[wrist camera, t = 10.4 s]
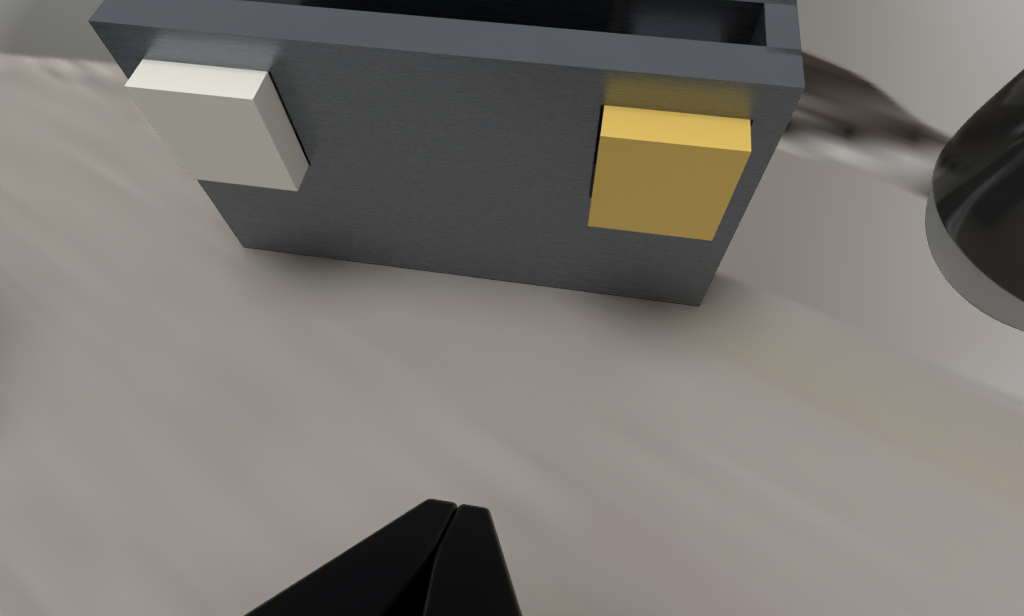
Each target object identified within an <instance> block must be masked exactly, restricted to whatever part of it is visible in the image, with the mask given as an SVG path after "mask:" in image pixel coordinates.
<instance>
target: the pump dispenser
mask: <svg viewBox="0 0 1024 616" xmlns="http://www.w3.org/2000/svg"><path fill="white" fill-rule="evenodd" d="M925 224H926V225H925V226H926V235H927V240H928V244H929V247H930V250H931V253H932V256H933V258H934V260H935V262H936V264H937V266H938V267H939V269H940V271H941V272H942V274H943V275H944V277H945V278H946V279H947V281H948V282H949V283H950V284H951V285H952V287H953V288H954V289H955V290H956V291H957V292H958V293H959V294H960V295H961V296H963V298H965V299H966V300H967V301H968V302H969V303H971V304H972V305H973V306H975V307H976V308H978V309H979V310H980V311H982V312H983V313H985V314H987V315H989V316H990V317H992V318H994V319H996V320H998V321H1000V322H1002V323H1004V324H1007V325H1009V326H1011V327H1013V328H1016V329H1019V330H1022V331H1024V69H1023V70H1022V71H1021V72H1020V73H1019V74H1017V75H1016V76H1015V77H1014V78H1013V79H1012V80H1011V81H1010V82H1008V83H1007V84H1006V85H1005V86H1004V87H1003V88H1002V89H1000V90H999V91H998V92H997V93H996V94H995V95H994V96H993V97H992V98H990V99H989V100H988V101H987V102H986V103H985V104H984V105H983V106H982V107H981V108H979V109H978V110H977V111H976V112H975V113H974V114H973V115H972V116H971V117H970V118H969V119H968V120H967V121H966V122H965V123H964V124H963V126H961V128H960V129H959V130H958V131H957V132H956V133H955V134H954V136H953V137H952V138H951V139H950V140H949V142H948V143H947V144H946V146H945V147H944V148H943V150H942V151H941V153H940V155H939V157H938V159H937V161H936V164H935V167H934V171H933V178H932V187H931V190H930V193H929V197H928V201H927V206H926V217H925Z"/></svg>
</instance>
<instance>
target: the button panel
mask: <svg viewBox="0 0 1024 616" xmlns="http://www.w3.org/2000/svg"><path fill="white" fill-rule="evenodd" d="M89 23H90V24H91V25H92V27H93V29H94V30H95V31H96V33H97V34H98V36H99V37H100V39H101V40H102V42H103V43H104V45H105V46H106V47H107V49H108V50H109V52H110V53H111V55H112V56H113V58H114V59H115V61H116V62H117V64H118V65H119V66H120V68H121V69H122V71H123V72H124V74H125V75H126V77H127V78H128V80H129V78H130V77H131V76H132V74H133V73H134V71H135V70H136V68H137V67H138V65H139V64H140V62H141V61H142V60H143V59H146V60H156V61H166V62H176V63H186V64H196V65H207V66H217V67H227V68H237V69H247V70H257V71H267V72H271V74H272V76H273V78H274V81H275V83H276V85H277V87H278V90H279V92H280V94H281V97H282V99H283V101H284V104H285V106H286V108H287V110H288V113H289V115H290V117H291V120H292V122H293V124H294V127H295V129H296V133H295V135H296V137H297V140H298V142H299V144H300V146H301V149H302V151H303V153H304V155H305V158H306V160H307V162H308V165H309V166H308V168H307V171H306V173H305V175H304V178H303V180H302V182H301V184H300V187H299V189H298V191H291V190H282V189H274V188H265V187H257V186H249V185H240V184H232V183H224V182H215V181H207V180H198V179H197V180H198V182H199V183H200V185H201V186H202V187H203V189H204V190H205V192H206V193H207V195H208V196H209V198H210V199H211V201H212V202H213V203H214V205H215V206H216V208H217V209H218V211H219V212H220V214H221V215H222V217H223V218H224V220H225V221H226V222H227V224H228V225H229V227H230V228H231V230H232V231H233V233H234V234H235V236H236V237H237V238H238V240H239V241H240V243H241V244H242V246H243V247H249V248H257V249H264V250H272V251H280V252H287V253H295V254H303V255H311V256H318V257H326V258H334V259H341V260H349V261H357V262H364V263H372V264H380V265H387V266H395V267H403V268H411V269H418V270H426V271H434V272H441V273H449V274H457V275H464V276H472V277H480V278H488V279H495V280H503V281H511V282H518V283H526V284H534V285H541V286H549V287H557V288H565V289H572V290H580V291H588V292H595V293H603V294H611V295H618V296H626V297H634V298H641V299H649V300H657V301H665V302H672V303H680V304H688V305H695V306H699V305H700V303H701V301H702V299H703V297H704V295H705V293H706V291H707V289H708V287H709V285H710V283H711V281H712V279H713V276H714V274H715V272H716V270H717V268H718V266H719V264H720V262H721V260H722V258H723V256H724V254H725V252H726V250H727V248H728V246H729V244H730V241H731V239H732V237H733V235H734V233H735V231H736V229H737V227H738V225H739V223H740V221H741V219H742V217H743V215H744V213H745V211H746V208H747V206H748V204H749V202H750V200H751V198H752V196H753V194H754V192H755V190H756V188H757V186H758V184H759V182H760V180H761V177H762V175H763V173H764V171H765V169H766V167H767V165H768V163H769V161H770V159H771V157H772V155H773V153H774V151H775V149H776V147H777V145H778V143H779V140H780V138H781V136H782V134H783V132H784V130H785V128H786V126H787V124H788V122H789V120H790V118H791V116H792V114H793V112H794V110H795V108H796V105H797V103H798V101H799V99H800V97H801V95H802V93H803V91H804V89H805V83H804V72H803V62H802V52H801V41H800V32H799V21H798V11H797V1H796V0H104V1H103V3H102V4H101V5H100V6H99V8H98V9H97V10H96V12H95V13H94V14H93V15H92V17H91V18H90V19H89ZM604 105H608V106H618V107H628V108H639V109H649V110H659V111H669V112H679V113H689V114H699V115H709V116H719V117H729V118H739V119H749V120H750V126H751V154H750V156H749V158H748V160H747V163H746V165H745V167H744V170H743V172H742V174H741V176H740V179H739V181H738V183H737V185H736V188H735V190H734V192H733V195H732V197H731V199H730V201H729V204H728V206H727V208H726V210H725V213H724V215H723V217H722V219H721V222H720V224H719V226H718V229H717V231H716V233H715V235H714V238H713V240H712V241H710V240H701V239H693V238H685V237H676V236H668V235H660V234H651V233H643V232H634V231H626V230H618V229H609V228H601V227H592V226H588V221H589V213H590V206H591V198H592V191H593V184H594V177H595V169H596V162H597V155H598V148H599V141H600V133H601V126H602V119H603V112H604Z"/></svg>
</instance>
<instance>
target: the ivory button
mask: <svg viewBox="0 0 1024 616" xmlns="http://www.w3.org/2000/svg"><path fill="white" fill-rule="evenodd" d="M124 87H125V88H126V89H127V91H128V92H129V94H130V95H131V97H132V98H133V99H134V101H135V102H136V104H137V105H138V107H139V108H140V109H141V111H142V112H143V114H144V115H145V117H146V118H147V119H148V121H149V122H150V124H151V125H152V126H153V128H154V129H155V131H156V132H157V134H158V135H159V136H160V138H161V139H162V141H163V142H164V144H165V145H166V146H167V148H168V149H169V151H170V152H171V154H172V155H173V156H174V158H175V159H176V161H177V162H178V164H179V165H180V166H181V168H182V169H183V171H184V172H185V174H186V175H187V176H188V178H190V179H198V180H207V181H215V182H224V183H232V184H240V185H249V186H257V187H265V188H274V189H282V190H291V191H298V189H299V187H300V184H301V182H302V180H303V178H304V175H305V173H306V171H307V168H308V166H309V165H308V162H307V160H306V158H305V155H304V153H303V151H302V149H301V146H300V144H299V142H298V140H297V137H296V135H295V133H296V129H295V127H294V124H293V122H292V120H291V117H290V115H289V113H288V110H287V108H286V106H285V104H284V101H283V99H282V97H281V94H280V92H279V90H278V87H277V85H276V83H275V81H274V78H273V76H272V74H271V72H267V71H257V70H247V69H237V68H227V67H217V66H207V65H196V64H186V63H176V62H166V61H156V60H146V59H143V60H142V61H141V62H140V64H139V65H138V67H137V68H136V70H135V71H134V73H133V74H132V76H131V77H130V78H129V80H128V81H127V83H126V84H125V86H124Z"/></svg>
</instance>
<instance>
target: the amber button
mask: <svg viewBox="0 0 1024 616" xmlns="http://www.w3.org/2000/svg"><path fill="white" fill-rule="evenodd" d="M750 154H751V126H750V120H749V119H739V118H729V117H719V116H709V115H699V114H689V113H679V112H669V111H659V110H649V109H639V108H628V107H618V106H608V105H604V112H603V119H602V126H601V133H600V141H599V148H598V155H597V162H596V169H595V177H594V184H593V191H592V198H591V206H590V213H589V221H588V226H592V227H601V228H609V229H618V230H626V231H634V232H643V233H651V234H660V235H668V236H676V237H685V238H693V239H701V240H710V241H712V240H713V238H714V235H715V233H716V231H717V229H718V226H719V224H720V222H721V219H722V217H723V215H724V213H725V210H726V208H727V206H728V204H729V201H730V199H731V197H732V195H733V192H734V190H735V188H736V185H737V183H738V181H739V179H740V176H741V174H742V172H743V170H744V167H745V165H746V163H747V160H748V158H749V156H750Z"/></svg>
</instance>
